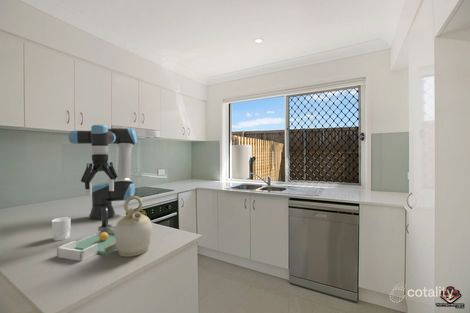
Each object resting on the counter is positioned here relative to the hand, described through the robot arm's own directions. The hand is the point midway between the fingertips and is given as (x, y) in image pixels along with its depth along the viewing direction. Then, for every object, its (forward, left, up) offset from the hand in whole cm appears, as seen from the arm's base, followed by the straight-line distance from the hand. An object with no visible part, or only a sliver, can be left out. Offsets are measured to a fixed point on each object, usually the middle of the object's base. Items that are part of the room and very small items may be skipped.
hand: (101, 193), depth 116 cm
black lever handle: (-1, +6, -21) cm, 22 cm away
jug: (+11, +31, -23) cm, 40 cm away
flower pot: (-16, +8, -23) cm, 29 cm away
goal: (+21, +10, -23) cm, 32 cm away
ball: (+8, +10, -20) cm, 23 cm away
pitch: (+6, +10, -23) cm, 26 cm away
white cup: (+9, -17, -23) cm, 30 cm away
